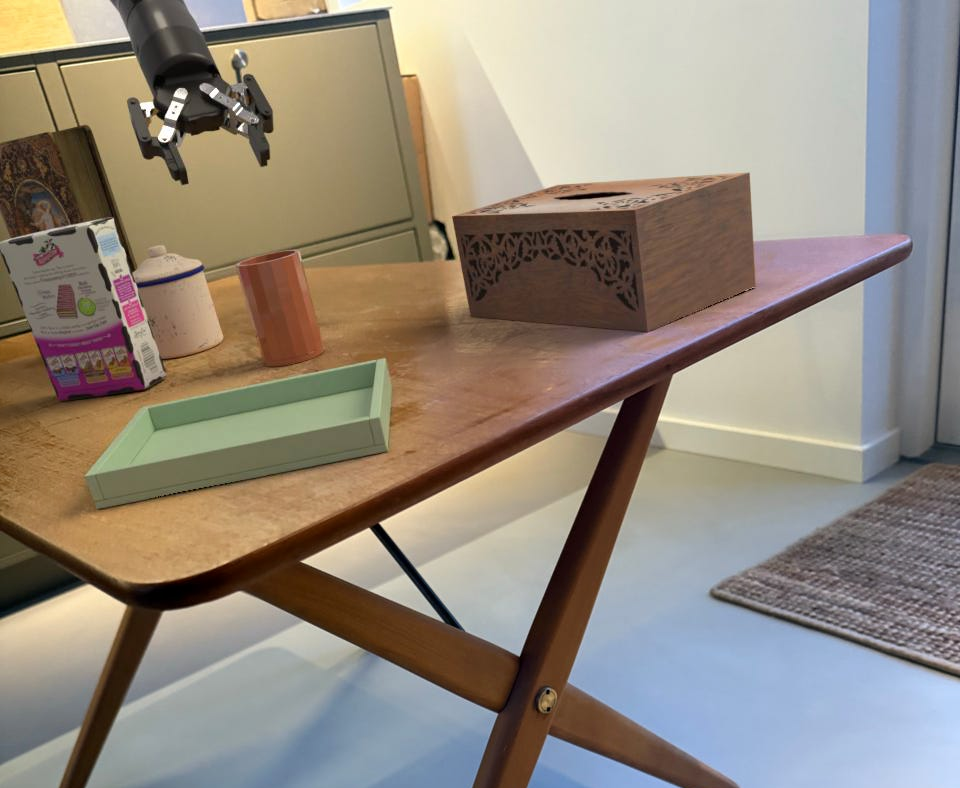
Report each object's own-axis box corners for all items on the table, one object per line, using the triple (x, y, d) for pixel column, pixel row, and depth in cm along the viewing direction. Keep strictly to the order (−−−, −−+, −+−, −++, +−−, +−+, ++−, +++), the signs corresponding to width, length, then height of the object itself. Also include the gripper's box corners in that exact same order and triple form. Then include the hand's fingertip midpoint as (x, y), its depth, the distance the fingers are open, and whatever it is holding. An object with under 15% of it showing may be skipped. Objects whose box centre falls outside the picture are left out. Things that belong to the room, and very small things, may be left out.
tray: (96, 509, 75) (83, 476, 73) (150, 436, 90) (140, 407, 89) (387, 451, 74) (379, 416, 72) (392, 387, 89) (385, 357, 88)
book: (50, 357, 134) (-30, 150, 122) (84, 345, 138) (10, 142, 126) (128, 356, 125) (50, 131, 113) (162, 342, 129) (90, 123, 117)
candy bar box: (170, 376, 110) (116, 214, 102) (147, 391, 106) (88, 223, 98) (82, 388, 114) (23, 232, 106) (56, 402, 109) (-7, 241, 101)
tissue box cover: (470, 316, 109) (452, 216, 104) (570, 280, 115) (557, 184, 110) (647, 331, 89) (635, 210, 85) (755, 287, 96) (749, 172, 91)
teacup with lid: (226, 333, 127) (196, 233, 121) (226, 347, 119) (194, 241, 113) (128, 356, 125) (94, 256, 120) (123, 371, 117) (85, 266, 112)
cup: (260, 370, 105) (231, 269, 100) (268, 355, 110) (240, 259, 105) (321, 358, 104) (295, 255, 100) (326, 344, 110) (301, 246, 105)
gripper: (239, 71, 116) (290, 181, 112) (113, 96, 112) (162, 211, 108) (234, 11, 109) (289, 126, 105) (100, 36, 105) (151, 156, 101)
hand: (224, 169), depth 107 cm, fingers open, 8 cm apart
